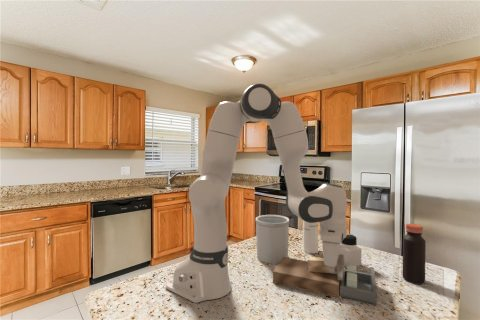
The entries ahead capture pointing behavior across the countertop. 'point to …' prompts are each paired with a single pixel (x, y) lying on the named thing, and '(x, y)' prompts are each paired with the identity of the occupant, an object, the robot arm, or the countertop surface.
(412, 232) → the vinegar
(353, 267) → the tile
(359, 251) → the medicine bottle
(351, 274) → the tile
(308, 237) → the cylindrical container
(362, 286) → the box
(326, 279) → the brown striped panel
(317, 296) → the countertop surface
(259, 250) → the utensil holder
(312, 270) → the scraper
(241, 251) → the countertop surface
